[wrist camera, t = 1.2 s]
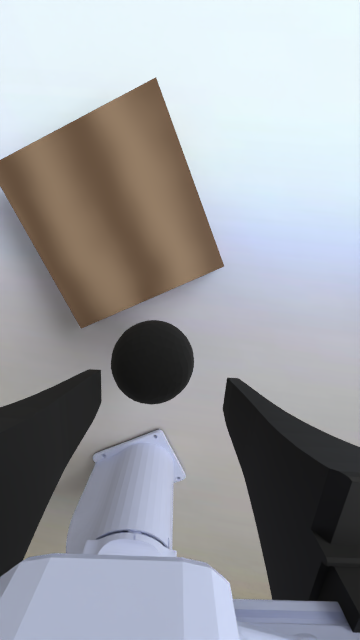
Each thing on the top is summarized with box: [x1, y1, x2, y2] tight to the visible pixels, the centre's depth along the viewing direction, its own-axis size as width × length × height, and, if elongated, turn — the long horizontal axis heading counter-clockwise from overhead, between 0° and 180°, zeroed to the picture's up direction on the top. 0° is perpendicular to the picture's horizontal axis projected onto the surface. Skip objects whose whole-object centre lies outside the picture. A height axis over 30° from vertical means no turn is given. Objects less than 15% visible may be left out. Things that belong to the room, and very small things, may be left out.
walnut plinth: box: [0, 78, 224, 328], centre depth 17 cm, size 14×14×3 cm
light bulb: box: [111, 320, 194, 404], centre depth 16 cm, size 6×6×10 cm
